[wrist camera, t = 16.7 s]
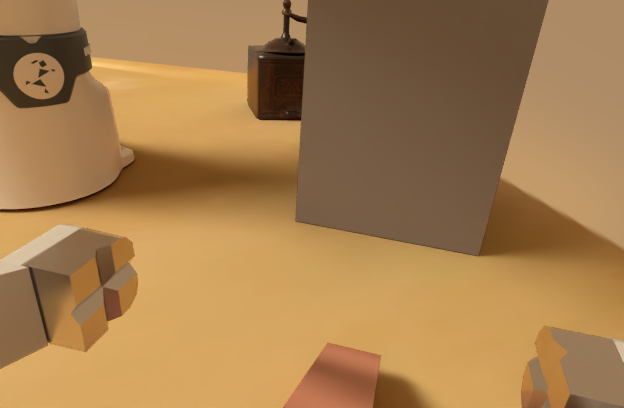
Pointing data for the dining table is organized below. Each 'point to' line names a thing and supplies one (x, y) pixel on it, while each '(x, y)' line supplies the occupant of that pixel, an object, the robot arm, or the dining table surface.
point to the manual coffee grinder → (277, 74)
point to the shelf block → (411, 114)
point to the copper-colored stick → (338, 380)
